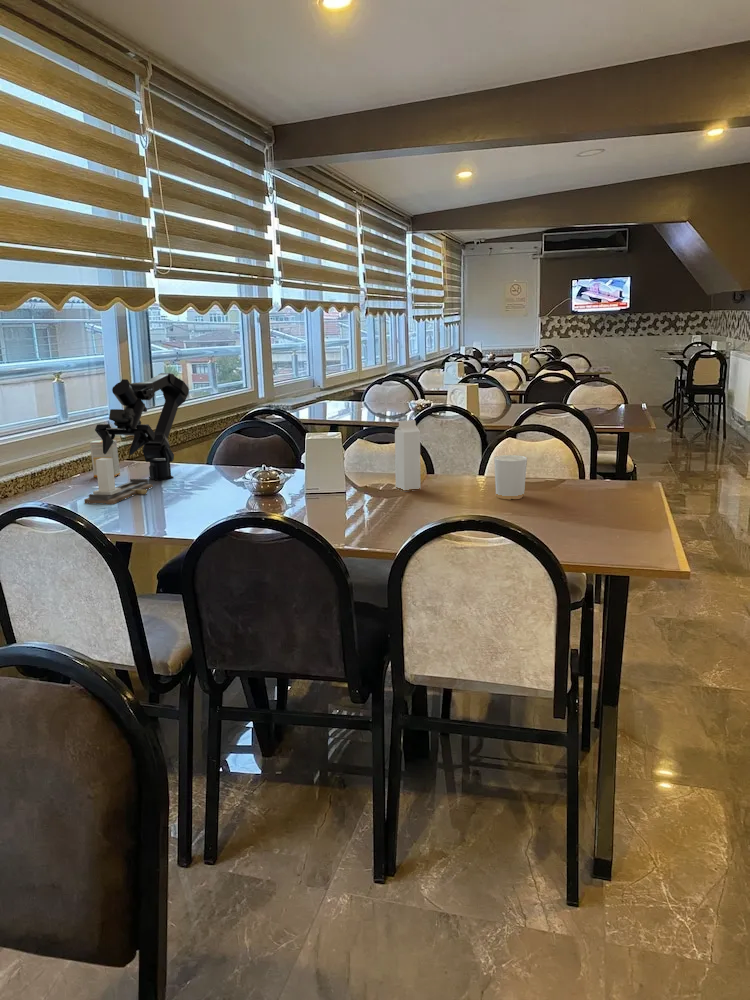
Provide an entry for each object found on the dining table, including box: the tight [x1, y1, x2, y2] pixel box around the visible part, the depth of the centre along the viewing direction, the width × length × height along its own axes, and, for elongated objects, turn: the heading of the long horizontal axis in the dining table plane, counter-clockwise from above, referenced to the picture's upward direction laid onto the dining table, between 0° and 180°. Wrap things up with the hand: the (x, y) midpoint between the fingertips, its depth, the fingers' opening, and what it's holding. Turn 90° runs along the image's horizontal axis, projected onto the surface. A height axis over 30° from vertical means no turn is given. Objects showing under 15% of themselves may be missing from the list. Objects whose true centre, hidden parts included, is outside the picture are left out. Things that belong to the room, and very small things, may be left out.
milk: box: [394, 419, 421, 490], centre depth 242 cm, size 6×6×22 cm
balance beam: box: [84, 478, 154, 505], centre depth 244 cm, size 25×16×3 cm, turn 167°
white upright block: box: [92, 458, 121, 496], centre depth 236 cm, size 6×6×12 cm
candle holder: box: [493, 454, 528, 496], centre depth 229 cm, size 10×10×12 cm
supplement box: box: [89, 439, 121, 478], centre depth 275 cm, size 8×5×13 cm, turn 84°
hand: (117, 453), depth 242 cm, fingers open, 9 cm apart
